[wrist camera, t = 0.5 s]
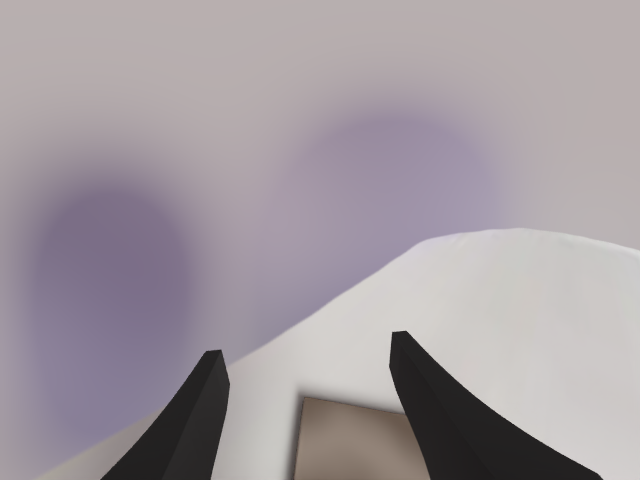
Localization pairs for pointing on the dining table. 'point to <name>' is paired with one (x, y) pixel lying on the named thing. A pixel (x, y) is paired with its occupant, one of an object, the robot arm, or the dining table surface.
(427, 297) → the dining table surface
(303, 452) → the serving board
